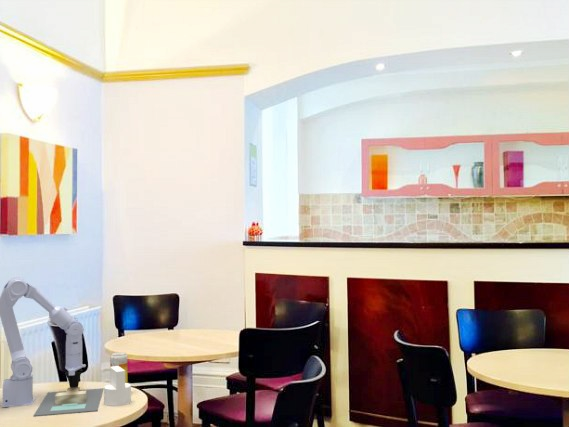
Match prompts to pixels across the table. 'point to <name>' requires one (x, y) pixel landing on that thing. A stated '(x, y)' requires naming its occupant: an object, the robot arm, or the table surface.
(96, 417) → the table surface
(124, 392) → the cylinder with rectangular tab
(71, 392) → the t block
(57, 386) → the table surface
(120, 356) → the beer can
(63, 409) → the mat
